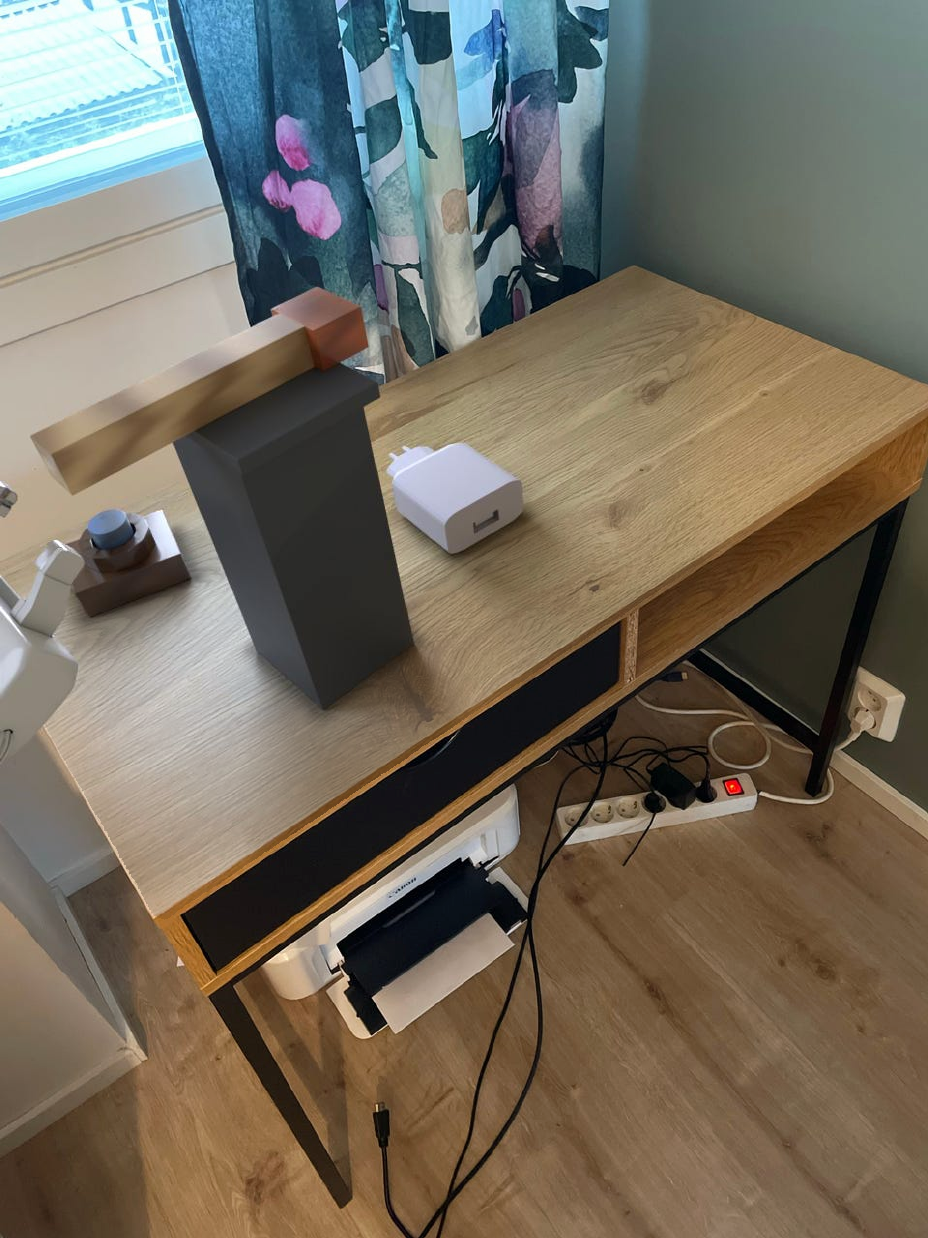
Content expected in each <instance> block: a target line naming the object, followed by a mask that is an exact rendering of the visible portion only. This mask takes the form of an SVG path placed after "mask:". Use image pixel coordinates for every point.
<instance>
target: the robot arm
mask: <svg viewBox="0 0 928 1238" xmlns="http://www.w3.org/2000/svg"><path fill="white" fill-rule="evenodd" d="M18 495H19V494H17V493H16V492H15V491H14V490H13V488H11V486H10V485H9V484H7V483H6V482H4V481H2V480H0V517H2V518H6V517H7V516H8V514H9V513H10V511H11V510H12V506H14V505H15V504H16V503H17V501H18ZM65 544H66V543H64V542H61V541H59V540H57V539H55V540H54V539H53V540H50V541H49V542H47V544H46V545H45V547H44V550H43V551H42V552H41V553H39V555H38V556H37V558H36V559H35V561H34V562H33V564H34V566H36V567H37V568H38V571H37V573H36V576H35V579H34V581H33V583H32V586H31V589H30V591H29V594H28V597H27V598H25V597H23V596H20V595H19V594H18V593H17V592H16V591H15V589H14V588H13V587H12V586H11V585H10V584H9V583H8V582H7V580H5V578H4V577H3V576H2V575H1V574H0V766H2V764H3V762H4V760H7V759H9V758H11V757H13V756H14V755H16V754H17V753H18V752H20V751H21V750H22V749H23V748H24V747H25V746H26V745H27V744H28V743H29V742H30V741H31V740H32V739H33V738H34V737H35V736H36V734H38V732H39V731H40V730H41V729H42V727H44V726H45V724H46V723H47V722H48V721H49V719H51V717H52V716H54V714H55V713H56V711H57V710H58V709H59V708H60V706H62V704H63V703H64V701H65V700H66V699H67V698H68V696H69V695H70V694H71V692H72V691H73V689H74V687H75V685H76V681H77V678H78V677H77V676H78V671H79V663H78V661H77V660H76V658H75V657H74V656H73V655H72V654H71V652H69V651H68V649H67V648H66V647H65V646H64V645H63V643H62V642H61V641H60V640H59V639H58V638H57V637H56V635H54V634H55V632H56V631H57V629H58V628H59V626H60V625H61V624H62V622H63V621H64V618H65V615H66V610H67V605H68V601H69V597H70V592H71V588H72V586H71V585H73V583H72V582H73V581H74V579H75V578H76V577H77V575H78V574H79V572H80V571H81V569H82V568H83V567H84V563H85V561H84V559H83V558H82V557H81V556H80V555H79V554H78V553H77V552H76V551H75V550H74V549H73V548H71V547H70V546H68V545H65Z"/></svg>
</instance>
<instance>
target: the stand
mask: <svg viewBox="0 0 928 1238" xmlns="http://www.w3.org/2000/svg"><path fill="white" fill-rule="evenodd" d="M380 398H381V392H380V388H379V383H378V381H376V380H374V379H373V378H370V377H368V376H367V375H365V374H363V373H361V372H359V371H357V370H355V369H353V368H352V367H349V366H347V365H346V364H344V363H342V362H340V363H338V364H337V365H335V366H333V367H331V368H329V369H327V370H325V371H321V370H320V369H318V368H316V367H313V368H312V369H310V370H308V371H306V372H304V373H302V374H300V375H298V376H296V377H295V378H293V379H291V380H289V381H287V382H285V383H283V384H281V385H280V386H278V387H276V388H274V389H272V390H270V391H268V392H266V393H265V394H263V395H261V396H259V397H257V398H255V399H253V400H251V401H250V402H248V403H246V404H244V405H242V406H240V407H238V408H236V409H235V410H233V411H231V412H229V413H227V414H225V415H223V416H221V417H220V418H218V419H216V420H214V421H212V422H210V423H208V424H206V425H205V426H203V427H201V428H199V429H197V430H195V431H193V432H191V433H190V434H188V435H186V436H184V437H182V438H180V439H178V440H176V441H175V442H173V443H172V446H173V448H174V450H175V452H176V455H177V458H178V460H179V463H180V465H181V467H182V470H183V472H184V475H185V477H186V479H187V482H188V485H189V488H190V490H191V492H192V495H193V497H194V500H195V503H196V505H197V507H198V510H199V512H200V515H201V517H202V519H203V522H204V525H205V527H206V530H207V531H208V534H209V537H210V539H211V542H212V545H213V547H214V550H215V552H216V554H217V557H218V559H219V562H220V564H221V566H222V569H223V572H224V574H225V577H226V579H227V582H228V584H229V586H230V589H231V592H232V594H233V596H234V599H235V601H236V604H237V607H238V609H239V612H240V614H241V616H242V619H243V621H244V624H245V626H246V629H247V631H248V634H249V636H250V639H251V642H252V644H253V646H254V649H255V651H256V652H257V653H258V654H259V655H260V656H262V657H263V658H264V659H265V660H266V661H267V662H268V663H270V664H271V665H272V666H273V667H274V668H275V670H277V671H279V673H281V675H283V676H284V677H285V678H286V679H287V680H288V681H290V683H292V684H293V685H294V686H295V687H296V688H297V689H299V690H300V691H301V692H302V693H303V694H304V695H305V696H306V697H308V698H309V700H311V701H312V702H313V704H315V705H316V706H317V707H318V708H320V709H321V710H322V711H325V710H326V709H327V708H328V707H329V706H331V705H333V704H334V703H335V702H337V701H338V700H339V699H340V698H342V697H343V696H344V695H346V694H347V693H348V692H350V691H351V690H352V689H354V688H355V687H357V686H358V685H359V684H361V683H362V682H363V681H365V680H366V679H368V678H369V677H370V676H372V675H373V674H374V673H375V672H377V671H378V670H380V669H381V668H382V667H384V666H385V665H386V664H388V663H389V662H391V661H392V660H393V659H394V658H396V657H397V656H399V655H400V654H402V653H403V652H404V651H405V650H407V649H408V648H410V647H411V646H412V645H413V644H414V643H415V641H414V637H413V631H412V628H411V627H412V626H411V622H410V617H409V613H408V609H407V603H406V598H405V595H404V594H405V593H404V590H403V584H402V580H401V576H400V571H399V567H398V561H397V557H396V553H395V548H394V542H393V537H392V533H391V529H390V524H389V520H388V514H387V510H386V506H385V505H386V504H385V500H384V496H383V492H382V487H381V481H380V477H379V473H378V468H377V463H376V458H375V454H374V453H375V452H374V449H373V443H372V440H371V435H370V430H369V425H368V421H367V417H366V411H365V407H367V406H369V405H370V404H371V403H373V402H376V401H377V400H379V399H380Z"/></svg>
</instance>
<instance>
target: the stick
mask: <svg viewBox="0 0 928 1238" xmlns="http://www.w3.org/2000/svg"><path fill="white" fill-rule="evenodd" d="M270 312H271V315H272V316H271V317H269V318H267V319H265V320H263V321H260V322H258V323H256V324H255V325H252V326H251V327H249V328H247V329H244V330H242V331H240V332H238V333H237V334H235V335H232V336H230V337H228V338H226V339H224V340H222V341H220V342H218V343H216V344H214V345H211V346H210V347H208V348H206V349H204V350H202V351H199V352H198V353H195V354H194V355H191V356H189V357H188V358H185V359H183V360H181V361H179V362H177V363H175V364H172V365H171V366H169V367H167V368H165V369H163V370H161V371H159V372H157V373H155V374H152V375H150V376H148V377H147V378H145V379H143V380H140V381H138V382H137V383H135V384H132V385H130V386H129V387H126V388H124V389H122V390H120V391H119V392H116V393H114V394H112V395H109V396H108V397H107V398H104V399H102V400H100V401H98V402H96V403H94V404H91V405H89V406H88V407H86V408H84V409H81V410H79V411H77V412H75V413H73V414H72V415H69V416H67V417H64V418H63V419H61V420H59V421H57V422H55V423H53V424H50V425H49V426H46V427H45V428H43V429H41V430H39V431H37V432H35V433H32V434H30V435H29V437H30V439H31V442H32V443H33V445H34V447H35V448H36V450H37V452H38V454H39V456H40V458H41V460H42V462H43V464H44V466H45V467H46V469H47V472H48V473H49V475H50V477H51V478H52V479H53V480H54V481H56V482H57V483H58V484H59V485H60V486H61V487H62V488H64V490H65V491H67V492H68V493H69V494H70V495H71V496H75V495H77V494H79V493H81V492H82V491H84V490H87V489H88V488H90V487H92V486H94V485H96V484H97V483H100V482H101V481H103V480H106V479H107V478H109V477H110V476H113V475H115V474H117V473H118V472H120V471H122V470H124V469H126V468H128V467H130V466H132V465H133V464H135V463H138V462H139V461H142V460H143V459H144V458H147V457H149V456H150V455H152V454H155V453H156V452H158V451H159V450H161V449H164V448H165V447H168V446H169V445H171V444H173V442H175V441H176V440H178V439H180V438H182V437H184V436H186V435H188V434H190V433H191V432H193V431H195V430H197V429H199V428H201V427H203V426H205V425H206V424H208V423H210V422H212V421H214V420H216V419H218V418H220V417H221V416H223V415H225V414H227V413H229V412H231V411H233V410H235V409H236V408H238V407H240V406H242V405H244V404H246V403H248V402H250V401H251V400H253V399H255V398H257V397H259V396H261V395H263V394H265V393H266V392H268V391H270V390H272V389H274V388H276V387H278V386H280V385H281V384H283V383H285V382H287V381H289V380H291V379H293V378H295V377H296V376H298V375H300V374H302V373H304V372H306V371H308V370H310V369H312V368H313V367H316V368H318V369H320V370H321V371H325V370H327V369H329V368H331V367H333V366H335V365H337V364H338V363H342V362H344V361H346V360H348V359H350V358H351V357H354V356H355V355H357V354H359V353H361V352H363V351H365V350H366V349H368V348H369V347H370V346H369V340H368V335H367V330H366V325H365V320H364V314H363V310H362V306H361V305H359V304H357V303H355V302H353V301H350V300H348V299H345V298H343V297H342V296H338V295H337V294H334V293H332V292H330V291H327V290H326V289H324V288H321V287H319V286H316V287H315V286H314V287H313V288H311V289H309V290H307V291H305V292H303V293H301V294H299V295H297V296H295V297H293V298H291V299H289V300H287V301H284V302H283V303H280V304H278V305H276V306H274V307H272V308H270Z"/></svg>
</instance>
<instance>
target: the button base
mask: <svg viewBox="0 0 928 1238" xmlns="http://www.w3.org/2000/svg"><path fill="white" fill-rule="evenodd" d="M124 513H125V514H126V517H127V519H128V521H129V523H130V525H131V527H132V529H133V531H134V535H133V538H132V539H131V540H129V541H128V542H127V543H126V544H124V545H123V546H120V547H117V548H115V549H112V550H101V549H99V548H98V547H97V546H96V544H95V542H94V540H93V538H92V536H91V535H90V533H89V531H88V528H86V529H84V531H82V534H81V536H80V538H79V539H76V540H73V541H70V542H68V543H64V544H65V545H68V546H70V547H71V548H73V549H74V550H75V551H76V552H77V553H78V554H79V555H80V556H81V557H82V558H83V559H84V561H85V563H84V567H83V568H82V569H81V571H80V572H79V574H78V575H77V577H76V578H75V579H74V581H73V582H72V587H73V591H74V594H75V596H76V597H77V600H78V601H79V603H80V605H81V606H82V608H83V610H84V611H85V613H86V615H87V617H88V618H91V617H93V616H96V615H99V614H102V613H105V612H107V611H109V610H112V609H115V608H117V607H119V606H120V607H121V606H122V605H125V604H128V603H130V602H133V601H135V600H138V599H141V598H144V597H146V596H149V595H151V594H153V593H156V592H159V591H162V590H164V589H167V588H169V587H172V586H174V585H177V584H180V583H183V582H185V581H187V580H190V579H192V576H191V573H190V571H189V569H188V566H187V563H186V561H185V559H184V556H183V554H182V552H181V548H180V546H179V545H178V541H177V539H176V536H175V534H174V532H173V530H172V527H171V525H170V523H169V520H168V518H167V516H166V514H165V511H164V509H158V510H157V511H152V512H151V513H148V514H145V515H143V516H142V515H139V514H137V513H135V512H124Z"/></svg>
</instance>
